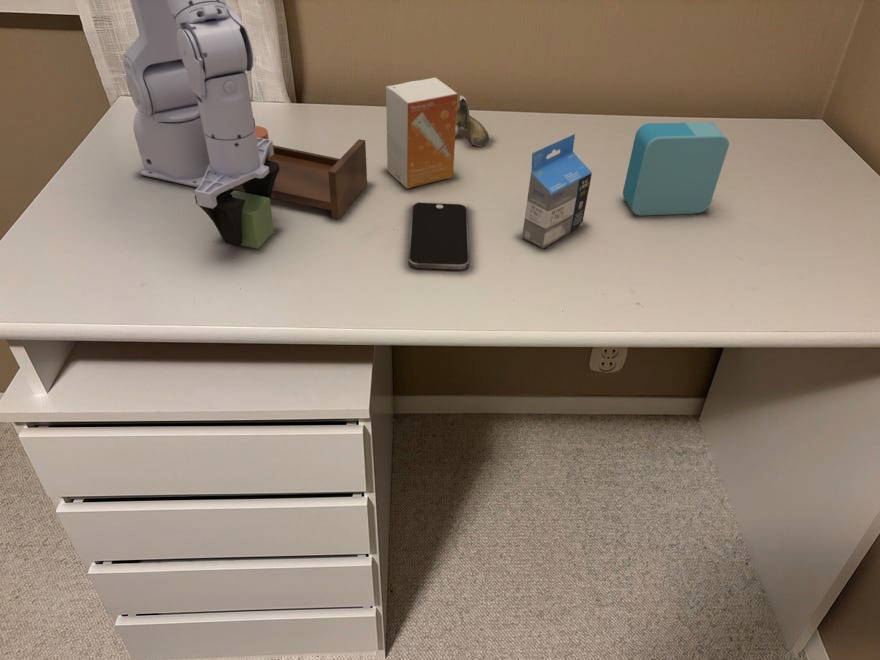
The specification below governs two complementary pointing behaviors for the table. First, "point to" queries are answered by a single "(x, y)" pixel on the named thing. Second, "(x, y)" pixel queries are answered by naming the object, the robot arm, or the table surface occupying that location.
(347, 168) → the shelf
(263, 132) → the terracotta cylinder
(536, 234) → the ink cartridge box
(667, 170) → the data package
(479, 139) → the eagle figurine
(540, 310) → the table surface
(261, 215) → the green block
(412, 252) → the smartphone
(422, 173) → the small box
